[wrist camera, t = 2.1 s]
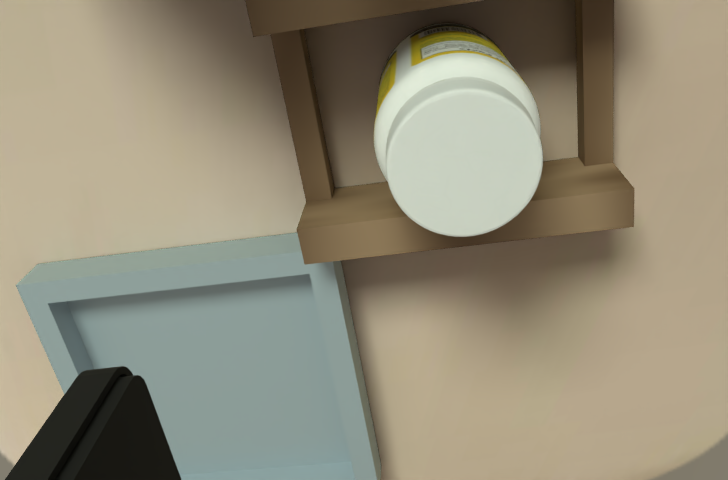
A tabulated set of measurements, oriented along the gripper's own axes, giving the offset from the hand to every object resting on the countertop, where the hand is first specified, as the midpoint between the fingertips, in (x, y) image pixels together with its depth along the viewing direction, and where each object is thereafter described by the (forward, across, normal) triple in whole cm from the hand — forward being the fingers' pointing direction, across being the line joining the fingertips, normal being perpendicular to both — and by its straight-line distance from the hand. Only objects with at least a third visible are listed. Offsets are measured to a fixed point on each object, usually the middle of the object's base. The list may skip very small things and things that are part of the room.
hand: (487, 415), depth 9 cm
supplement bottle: (+17, -1, 0) cm, 17 cm away
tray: (+18, +11, +11) cm, 23 cm away
